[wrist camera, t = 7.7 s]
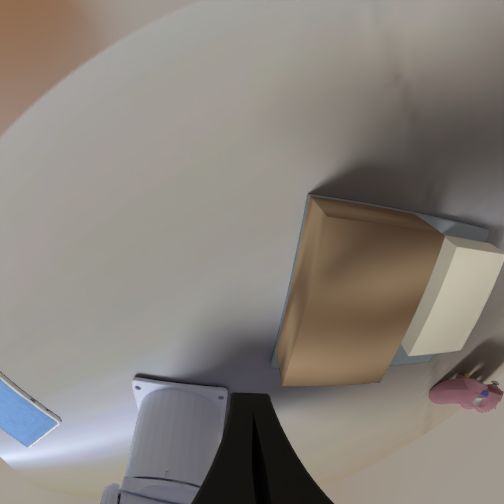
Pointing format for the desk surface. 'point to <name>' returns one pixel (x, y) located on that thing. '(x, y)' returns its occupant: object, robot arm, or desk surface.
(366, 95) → the desk surface
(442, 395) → the video game controller
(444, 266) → the cream rectangular block
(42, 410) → the tablet computer
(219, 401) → the robot arm
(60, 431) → the desk surface
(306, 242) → the brown wooden block
